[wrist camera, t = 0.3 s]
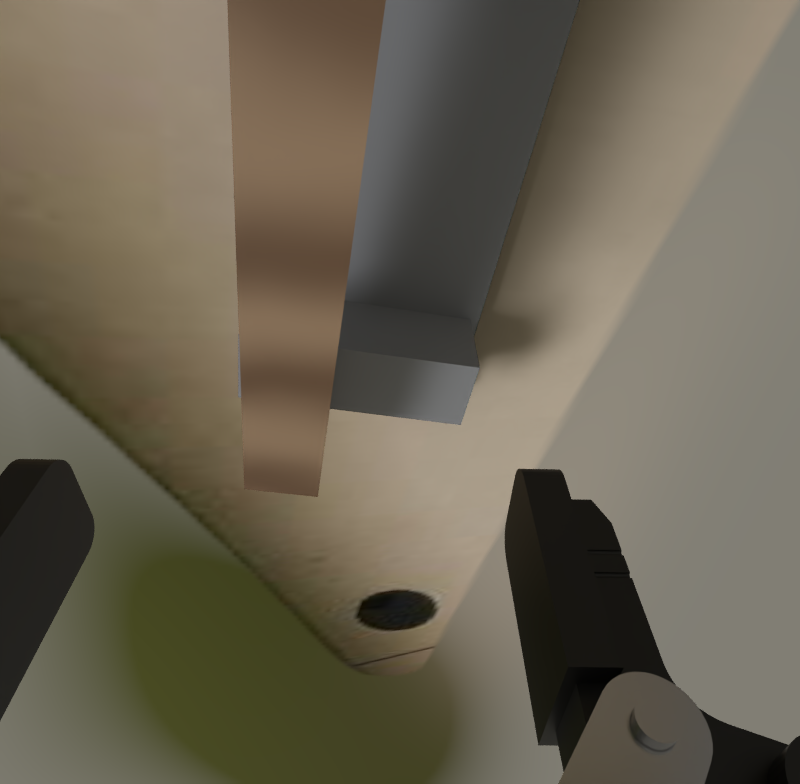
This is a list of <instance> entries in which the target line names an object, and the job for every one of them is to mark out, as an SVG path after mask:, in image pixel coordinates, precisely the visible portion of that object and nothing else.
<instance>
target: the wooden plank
mask: <svg viewBox="0 0 800 784" xmlns="http://www.w3.org/2000/svg"><path fill="white" fill-rule="evenodd" d="M385 3H386V0H228V28H229V57H230V86H231V115H232V144H233V173H234V202H235V231H236V260H237V289H238V318H239V346H240V375H241V404H242V433H243V462H244V489H248V490H258V491H267V492H277V493H286V494H296V495H305V496H314V497H318V490H319V483H320V476H321V469H322V461H323V454H324V447H325V439H326V432H327V425H328V418H329V410H330V403H331V396H332V389H333V381H334V374H335V367H336V359H337V352H338V345H339V338H340V330H341V323H342V316H343V308H344V301H345V294H346V287H347V279H348V272H349V265H350V258H351V250H352V243H353V236H354V228H355V221H356V214H357V207H358V199H359V192H360V185H361V177H362V170H363V163H364V156H365V148H366V141H367V134H368V127H369V119H370V112H371V105H372V97H373V90H374V83H375V76H376V68H377V61H378V54H379V46H380V39H381V32H382V25H383V17H384V10H385Z"/></svg>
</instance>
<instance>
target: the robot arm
mask: <svg viewBox="0 0 800 784" xmlns="http://www.w3.org/2000/svg"><path fill="white" fill-rule="evenodd" d="M93 537H94V519H93V516H92V514H91V511H90V509H89V507H88V504H87V502H86V500H85V498H84V495H83V493H82V491H81V489H80V486H79V484H78V482H77V479H76V477H75V475H74V473H73V470H72V468H71V466H70V465H69V464H68V463H67V462H66V461H64V460H43V459H41V460H40V459H18V460H15V461H13V462H12V463H10V464H9V465H8V467H7V468H6V469H5V470H4V471H3V473H2V474H1V475H0V720H1V718H2V716H3V714H4V712H5V711H6V708H7V707H8V705H9V703H10V701H11V699H12V697H13V695H14V693H15V692H16V690H17V688H18V686H19V684H20V682H21V680H22V678H23V676H24V674H25V673H26V670H27V669H28V667H29V665H30V663H31V661H32V659H33V657H34V655H35V653H36V652H37V650H38V648H39V646H40V644H41V642H42V640H43V638H44V636H45V634H46V632H47V631H48V629H49V627H50V625H51V623H52V621H53V619H54V617H55V615H56V614H57V612H58V610H59V607H60V606H61V604H62V602H63V600H64V598H65V596H66V594H67V593H68V591H69V589H70V587H71V585H72V583H73V581H74V579H75V577H76V575H77V574H78V572H79V570H80V568H81V566H82V564H83V562H84V560H85V558H86V556H87V554H88V552H89V550H90V548H91V545H92V542H93ZM505 553H506V560H507V567H508V572H509V578H510V584H511V590H512V595H513V601H514V607H515V612H516V618H517V624H518V630H519V636H520V641H521V647H522V653H523V659H524V665H525V670H526V676H527V682H528V687H529V693H530V699H531V705H532V711H533V717H534V722H535V728H536V734H537V739H538V745H558V746H559V751H560V756H561V761H562V766H563V771H564V773H563V775H562V777H561V779H560V781H559V783H558V784H800V736H798V737H797V738H795V739H794V740H793V741H792V742H791V743H790V744H789V745H787V744H784V743H781V742H778V741H776V740H772V739H770V738H767V737H764V736H761V735H758V734H755V733H752V732H749V731H746V730H744V729H741V728H737V727H735V726H732V725H729V724H727V723H724V722H722V721H719V720H717V719H715V718H714V717H712V716H710V715H708V714H707V713H705V712H704V711H702V710H701V709H699V708H698V707H697V706H696V704H695V703H694V702H693V700H692V699H691V698H690V697H689V696H688V695H687V694H686V693H685V692H683V691H682V690H681V689H680V688H679V687H677V686H676V685H675V683H674V682H673V681H672V679H671V678H670V676H669V674H668V672H667V670H666V668H665V666H664V664H663V661H662V658H661V656H660V653H659V650H658V647H657V645H656V642H655V639H654V637H653V634H652V631H651V629H650V626H649V623H648V620H647V618H646V615H645V613H644V610H643V607H642V604H641V601H640V599H639V596H638V593H637V591H636V588H635V585H634V583H633V580H632V578H630V576H629V574H630V572H629V569H628V566H627V564H626V561H625V558H624V556H623V555H622V554H621V548H620V545H619V542H618V539H617V537H616V534H615V532H614V529H613V526H612V523H611V522H610V521H609V520H608V519H607V517H606V516H605V515H604V514H603V513H602V512H601V511H600V509H599V508H598V507H597V506H596V505H595V504H594V503H593V502H592V500H572V499H571V497H570V493H569V491H568V487H567V484H566V481H565V478H564V475H563V473H562V471H561V470H555V469H518V470H517V472H516V475H515V480H514V485H513V490H512V495H511V500H510V505H509V510H508V515H507V520H506V526H505Z"/></svg>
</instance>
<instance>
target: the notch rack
mask: <svg viewBox="0 0 800 784" xmlns="http://www.w3.org/2000/svg"><path fill="white" fill-rule="evenodd" d="M579 1H580V0H386V3H385V10H384V17H383V25H382V32H381V39H380V46H379V54H378V61H377V68H376V76H375V83H374V90H373V97H372V105H371V112H370V119H369V127H368V134H367V141H366V148H365V156H364V163H363V170H362V177H361V185H360V192H359V199H358V207H357V214H356V221H355V228H354V236H353V243H352V250H351V258H350V265H349V272H348V279H347V287H346V294H345V301H344V308H343V316H342V323H341V330H340V338H339V345H338V352H337V359H336V367H335V374H334V381H333V389H332V396H331V403H330V409H337V410H345V411H353V412H361V413H369V414H377V415H385V416H393V417H401V418H409V419H417V420H425V421H433V422H441V423H449V424H457V425H461V422H462V419H463V416H464V413H465V410H466V407H467V404H468V401H469V398H470V395H471V392H472V389H473V386H474V384H475V381H476V378H477V375H478V372H479V369H480V367H479V362H478V356H477V351H476V346H475V341H474V335H475V332H476V329H477V325H478V322H479V319H480V316H481V313H482V309H483V306H484V303H485V300H486V297H487V294H488V290H489V287H490V284H491V281H492V278H493V274H494V271H495V268H496V265H497V262H498V259H499V255H500V252H501V249H502V246H503V243H504V239H505V236H506V233H507V230H508V227H509V224H510V220H511V217H512V214H513V211H514V208H515V204H516V201H517V198H518V195H519V192H520V189H521V185H522V182H523V179H524V176H525V173H526V169H527V166H528V163H529V160H530V157H531V154H532V150H533V147H534V144H535V141H536V138H537V134H538V131H539V128H540V125H541V122H542V119H543V115H544V112H545V109H546V106H547V103H548V99H549V96H550V93H551V90H552V87H553V84H554V80H555V77H556V74H557V71H558V68H559V64H560V61H561V58H562V55H563V52H564V49H565V45H566V42H567V39H568V36H569V33H570V29H571V26H572V23H573V20H574V17H575V14H576V10H577V7H578V4H579ZM238 397H241V375H240V346H239V335H238Z"/></svg>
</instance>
